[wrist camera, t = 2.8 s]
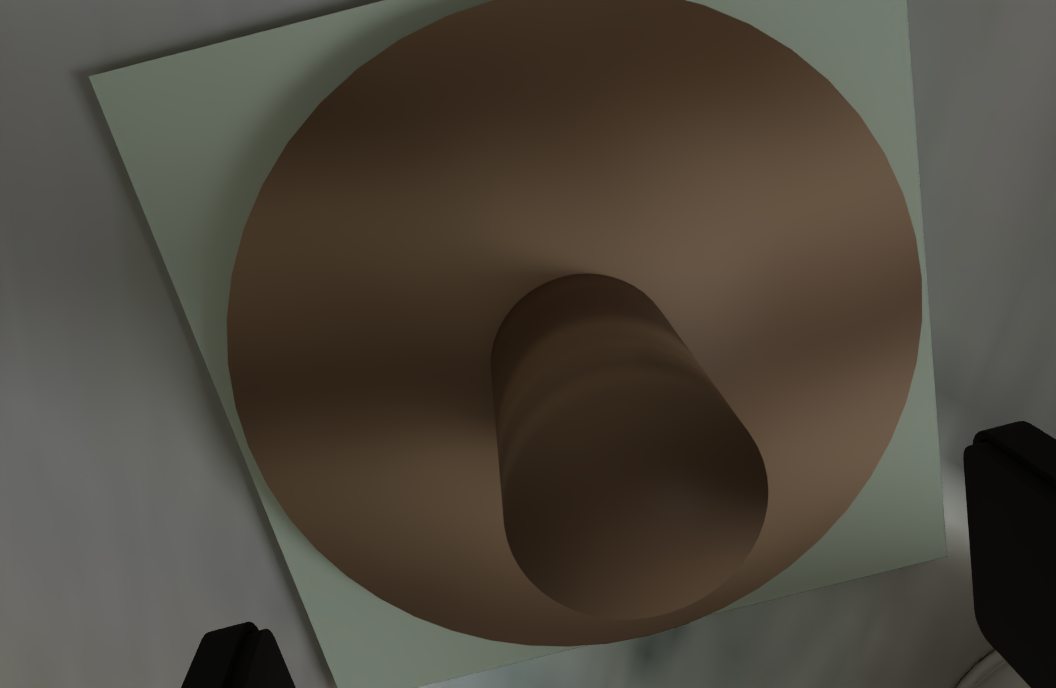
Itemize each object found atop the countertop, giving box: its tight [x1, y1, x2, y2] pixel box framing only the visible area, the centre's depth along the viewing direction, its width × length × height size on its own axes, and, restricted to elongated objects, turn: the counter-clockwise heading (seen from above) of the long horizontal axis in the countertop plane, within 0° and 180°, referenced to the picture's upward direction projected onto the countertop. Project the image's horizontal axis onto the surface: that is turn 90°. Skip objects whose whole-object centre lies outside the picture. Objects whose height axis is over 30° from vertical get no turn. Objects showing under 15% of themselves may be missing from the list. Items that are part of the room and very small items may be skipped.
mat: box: [89, 0, 947, 688], centre depth 19 cm, size 16×16×1 cm
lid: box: [227, 0, 922, 647], centre depth 16 cm, size 15×15×7 cm
